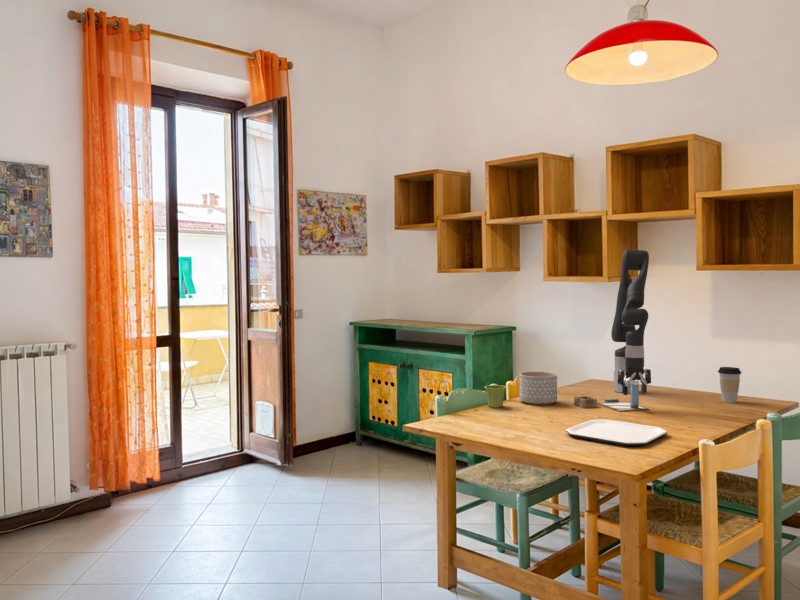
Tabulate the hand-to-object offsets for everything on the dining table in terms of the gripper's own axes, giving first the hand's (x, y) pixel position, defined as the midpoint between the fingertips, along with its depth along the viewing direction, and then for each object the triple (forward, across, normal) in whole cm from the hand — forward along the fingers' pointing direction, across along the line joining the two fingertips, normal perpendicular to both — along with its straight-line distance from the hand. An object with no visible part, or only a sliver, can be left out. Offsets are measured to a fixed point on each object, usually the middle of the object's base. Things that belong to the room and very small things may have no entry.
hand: (634, 394), depth 276 cm
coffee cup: (+7, -50, -4) cm, 51 cm away
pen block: (+6, +16, -12) cm, 21 cm away
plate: (+7, +32, +38) cm, 50 cm away
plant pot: (+7, +54, -21) cm, 58 cm away
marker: (+6, 0, 0) cm, 6 cm away
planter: (+7, +32, -25) cm, 41 cm away
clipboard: (+6, +2, -6) cm, 9 cm away
